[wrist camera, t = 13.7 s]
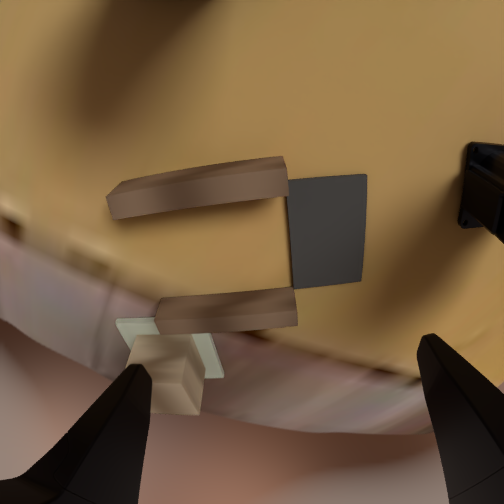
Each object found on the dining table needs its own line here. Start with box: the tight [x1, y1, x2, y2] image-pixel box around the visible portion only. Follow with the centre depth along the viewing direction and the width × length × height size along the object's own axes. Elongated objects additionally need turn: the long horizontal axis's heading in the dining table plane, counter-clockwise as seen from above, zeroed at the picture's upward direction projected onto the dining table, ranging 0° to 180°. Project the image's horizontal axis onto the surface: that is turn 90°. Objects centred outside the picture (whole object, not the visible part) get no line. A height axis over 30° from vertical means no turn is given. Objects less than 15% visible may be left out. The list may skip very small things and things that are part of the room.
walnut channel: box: [106, 156, 298, 335], centre depth 19 cm, size 10×11×2 cm
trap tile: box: [287, 174, 367, 289], centre depth 19 cm, size 5×8×1 cm, turn 7°
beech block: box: [125, 334, 206, 415], centre depth 23 cm, size 5×5×5 cm
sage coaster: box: [115, 317, 224, 378], centre depth 26 cm, size 8×8×1 cm
